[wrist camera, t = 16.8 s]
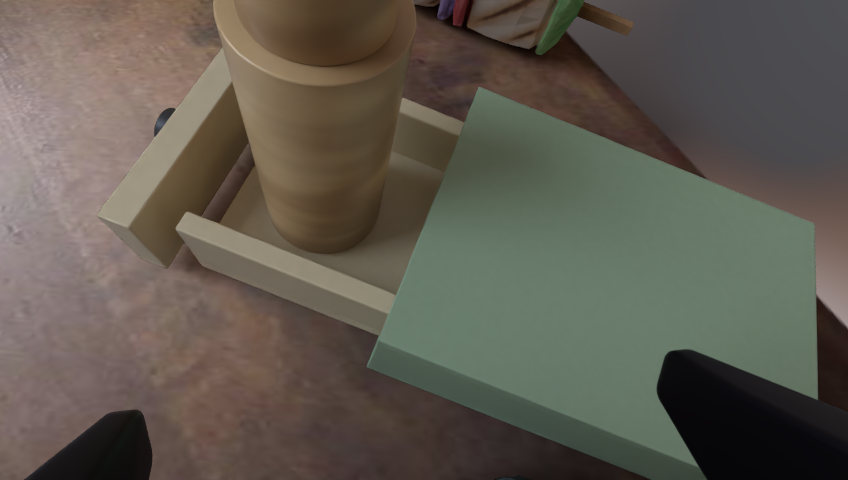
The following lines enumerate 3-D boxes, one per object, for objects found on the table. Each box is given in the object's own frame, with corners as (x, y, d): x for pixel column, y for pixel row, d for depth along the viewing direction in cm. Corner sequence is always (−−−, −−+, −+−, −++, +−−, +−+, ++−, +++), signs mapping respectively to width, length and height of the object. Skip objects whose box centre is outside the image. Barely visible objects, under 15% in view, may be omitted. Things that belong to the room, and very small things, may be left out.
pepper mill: (312, 275, 20) (277, -10, 7) (245, 191, 21) (113, -190, 8) (401, 214, 21) (495, -99, 9) (336, 139, 22) (341, -239, 10)
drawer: (113, 248, 20) (61, 201, 16) (235, 75, 24) (217, 6, 20) (463, 386, 20) (493, 373, 16) (522, 191, 24) (557, 144, 21)
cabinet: (366, 367, 20) (377, 340, 15) (448, 161, 25) (479, 85, 20) (695, 497, 21) (821, 516, 15) (714, 269, 26) (815, 223, 20)
